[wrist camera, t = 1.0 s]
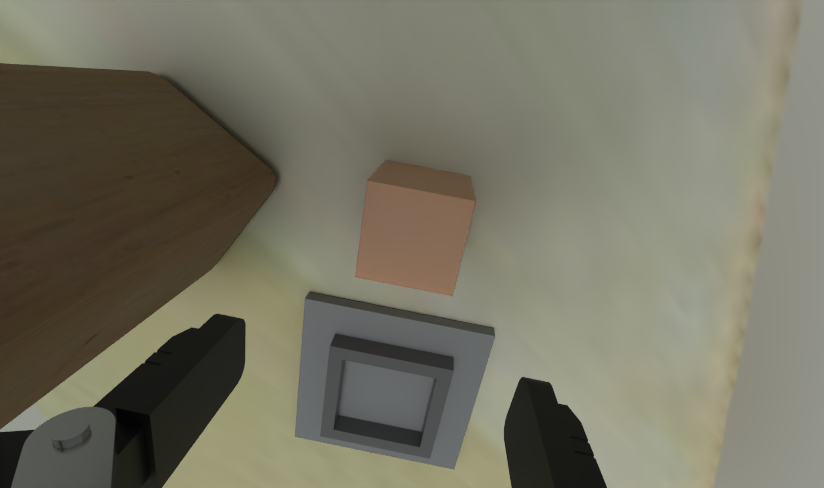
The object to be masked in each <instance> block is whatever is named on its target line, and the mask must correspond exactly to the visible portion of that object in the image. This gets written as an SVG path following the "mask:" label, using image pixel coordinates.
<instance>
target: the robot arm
mask: <svg viewBox="0 0 824 488" xmlns="http://www.w3.org/2000/svg"><path fill="white" fill-rule="evenodd" d="M244 365H245V321H244V319H241V318H236V317H231V316H226V315H221V314H215V315H213V316H212V317H211V318H210V319H209V320H208V321H207V322H206V323H204V324H203V325H202V326H201V327H200V328H199V329H197V328H190V329H188V330H186V331H183V332H181V333H179V334H177V335H175V336H173V337H172V338H170V339H169V340H168V341H167V342H166V343H165V344H164V345H163V346H161V347H160V348H159V349H158V351H157V353H156V352H155V353H153V354H152V355H151V356H150V357H149V358H148V359H147V360H146V361H145V363H144V364H143V363H142V364H141V365H140V366H139V367H138V368H136V369H135V370H134V371H133V372H132V373H131V374H130V375H129V376H127V377H126V378H125V379H124V380H123V381H122V382H121V383H119V384H118V385H117V386H116V387H115V388H114V389H113V390H112V391H110V392H109V393H108V394H107V395H106V396H105V397H104V398H102V399H101V400H100V401H99V402H98V403H97V404H96V405H94V406H93V407H83V408H77V409H73V410H70V411H67V412H64V413H61V414H59V415H57V416H55V417H53V418H51V419H49V420H47V421H46V422H44V423H43V424H41V425H40V426H39V427H38V428H36V429H35V430H26V431H12V432H0V488H162V487H163V485H164V484H165V483H166V481H167V480H168V479H169V477H170V476H171V474H172V473H173V472H174V470H175V469H176V468H177V466H178V465H179V463H180V462H181V461H182V459H183V458H184V457H185V455H186V454H187V452H188V451H189V450H190V448H191V447H192V446H193V444H194V443H195V441H196V440H197V439H198V437H199V436H200V435H201V433H202V432H203V430H204V429H205V428H206V426H207V425H208V424H209V422H210V421H211V419H212V418H213V417H214V415H215V414H216V413H217V411H218V410H219V408H220V407H221V406H222V404H223V403H224V402H225V400H226V399H227V397H228V396H229V395H230V393H231V392H232V391H233V389H234V388H235V386H236V385H237V384H238V382H239V380H240V378H241V376H242V373H243V370H244ZM504 442H505V448H506V455H507V461H508V467H509V474H510V480H511V486H512V488H607V487H606V484H605V482H604V479H603V476H602V474H601V471H600V469H599V466H598V464H597V461H596V459H594V454H593V451H592V449H591V446H590V444H589V443H588V439H587V436H586V434H585V431H584V429H583V426H582V424H581V422H580V420H579V419H578V418H577V417H576V416H575V414H574V413H573V412H572V411H571V409H570V408H569V407H568V406H567V405H562V404H558V402H557V399H556V396H555V393H554V391H553V388H552V385H551V384H550V383H549V382H545V381H540V380H535V379H530V378H525V377H522V378H521V379H520V381H519V383H518V386H517V388H516V391H515V394H514V397H513V399H512V402H511V405H510V408H509V411H508V413H507V416H506V420H505V426H504Z"/></svg>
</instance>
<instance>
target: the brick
mask: <svg viewBox="0 0 824 488" xmlns="http://www.w3.org/2000/svg"><path fill="white" fill-rule="evenodd" d="M475 203H476V199H475V195H474V191H473V187H472V182H471V178H470V176H466V175H461V174H455V173H450V172H445V171H440V170H434V169H429V168H424V167H419V166H413V165H408V164H403V163H397V162H392V161H387V160H386V161H385V162H384V163H383V164H382V165H381V166H380V167H379V168H378V169H377V171H376V172H375V173H374V174H373V175H372V176H371V177H370V178H369V179H368V181H367V188H366V196H365V204H364V212H363V220H362V227H361V235H360V243H359V251H358V259H357V266H356V274H355V277H358V278H363V279H368V280H373V281H378V282H383V283H388V284H393V285H398V286H404V287H409V288H414V289H419V290H424V291H429V292H434V293H439V294H444V295H449V296H453V293H454V289H455V285H456V281H457V277H458V273H459V269H460V264H461V260H462V256H463V252H464V248H465V244H466V240H467V236H468V232H469V228H470V224H471V219H472V215H473V211H474V207H475Z"/></svg>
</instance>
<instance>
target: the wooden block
mask: <svg viewBox="0 0 824 488" xmlns="http://www.w3.org/2000/svg"><path fill="white" fill-rule="evenodd" d="M275 180H276V176H275V174H274V173H273V171H272V170H271V169H270V168H269V167H268V166H267V165H266V164H264V163H263V162H262V161H261V160H260V159H259V158H257V157H256V156H255V155H254V154H253V153H251V152H250V151H249V150H248V149H247V148H246V147H244V146H243V145H242V144H241V143H240V142H239V141H237V140H236V139H235V138H234V137H233V136H232V135H230V134H229V133H228V132H227V131H226V130H224V129H223V128H222V127H221V126H220V125H219V124H217V123H216V122H215V121H214V120H213V119H212V118H210V117H209V116H208V115H207V114H206V113H204V112H203V111H202V110H201V109H200V108H199V107H197V106H196V105H195V104H194V103H193V102H192V101H190V100H189V99H188V98H187V97H186V96H185V95H183V94H182V93H181V92H180V91H179V90H177V89H176V88H175V87H174V86H173V85H172V84H170V83H169V82H168V81H167V80H165V79H164V78H163V77H161V76H159V75H156V74H153V73H151V72H144V71H126V70H108V69H90V68H73V67H55V66H37V65H19V64H2V63H0V429H1V428H2V427H4V426H5V425H6V424H8V423H9V422H10V421H12V420H13V419H14V418H16V417H17V416H18V415H20V414H21V413H22V412H23V411H25V410H26V409H27V408H29V407H30V406H31V405H33V404H34V403H35V402H37V401H38V400H39V399H41V398H42V397H43V396H45V395H46V394H47V393H49V392H50V391H51V390H53V389H54V388H55V387H57V386H58V385H59V384H61V383H62V382H63V381H65V380H66V379H67V378H68V377H70V376H71V375H72V374H74V373H75V372H76V371H78V370H79V369H80V368H82V367H83V366H84V365H86V364H87V363H88V362H90V361H91V360H92V359H94V358H95V357H96V356H98V355H99V354H100V353H101V352H103V351H104V350H105V349H107V348H108V347H109V346H111V345H112V344H113V343H115V342H116V341H117V340H119V339H120V338H121V337H123V336H124V335H125V334H127V333H128V332H129V331H131V330H132V329H133V328H135V327H136V326H137V325H138V324H140V323H141V322H142V321H144V320H145V319H146V318H148V317H149V316H150V315H152V314H153V313H154V312H156V311H157V310H158V309H160V308H161V307H162V306H164V305H165V304H166V303H168V302H169V301H170V300H171V299H173V298H174V297H175V296H177V295H178V294H179V293H181V292H182V291H183V290H185V289H186V288H187V287H189V286H190V285H191V284H193V283H194V282H195V281H197V280H198V279H199V278H201V277H202V276H203V275H204V274H206V273H207V272H208V271H210V270H211V269H212V268H213V267H214V266H215V264H216V263H217V262H218V261H219V259H220V258H221V257H222V255H223V254H224V253H225V251H226V250H227V249H228V248H229V246H230V245H231V244H232V242H233V241H234V240H235V239H236V237H237V236H238V235H239V233H240V232H241V231H242V230H243V228H244V227H245V226H246V224H247V223H248V222H249V220H250V219H251V218H252V217H253V215H254V214H255V213H256V211H257V210H258V209H259V208H260V206H261V205H262V204H263V202H264V201H265V200H266V199H267V197H268V196H269V195H270V193H271V192H272V191H273V188H274V184H275Z"/></svg>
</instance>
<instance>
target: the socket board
mask: <svg viewBox="0 0 824 488" xmlns="http://www.w3.org/2000/svg"><path fill="white" fill-rule="evenodd" d="M494 338H495V333H494V328H490V327H485V326H480V325H475V324H470V323H464V322H459V321H454V320H449V319H444V318H439V317H434V316H429V315H424V314H419V313H414V312H409V311H404V310H399V309H394V308H389V307H384V306H378V305H373V304H368V303H363V302H358V301H353V300H348V299H343V298H338V297H333V296H328V295H323V294H318V293H313V292H309V294H308V295H307V297H306V298H305V306H304V320H303V334H302V347H301V361H300V375H299V389H298V402H297V416H296V430H295V437H299V438H304V439H309V440H314V441H319V442H323V443H328V444H333V445H338V446H343V447H348V448H353V449H357V450H362V451H367V452H372V453H377V454H382V455H387V456H392V457H396V458H401V459H406V460H411V461H416V462H421V463H426V464H431V465H435V466H440V467H445V468H450V469H454V468H455V465H456V461H457V458H458V455H459V452H460V448H461V445H462V442H463V439H464V435H465V432H466V429H467V426H468V422H469V419H470V416H471V413H472V409H473V406H474V403H475V400H476V396H477V393H478V390H479V387H480V383H481V380H482V377H483V374H484V371H485V367H486V364H487V361H488V358H489V354H490V351H491V348H492V345H493V341H494Z"/></svg>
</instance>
